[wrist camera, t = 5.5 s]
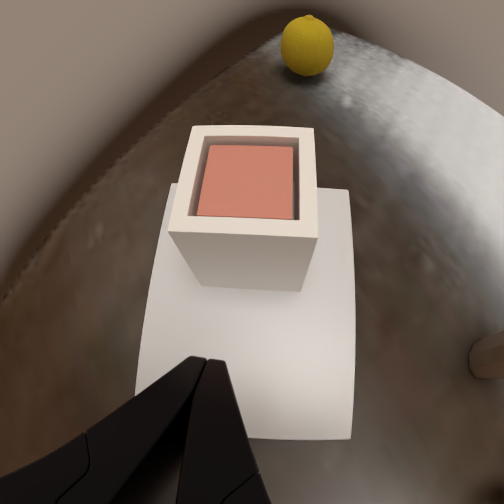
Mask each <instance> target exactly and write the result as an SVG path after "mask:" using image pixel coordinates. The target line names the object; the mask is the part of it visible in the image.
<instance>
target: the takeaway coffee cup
mask: <svg viewBox="0 0 504 504" xmlns="http://www.w3.org/2000/svg"><path fill="white" fill-rule="evenodd" d="M468 356H469V369H470V370H471V372H472V373H473V375H474V376H475V378H480V379H504V328H502V329H500V330H498V331H496V332H494V333H492V334H490V335H488V336H486V337H484V338H482V339H480V340H479V341H477V342H476V343H474V344H473V346H472V348H471V351H470V353H469V355H468Z"/></svg>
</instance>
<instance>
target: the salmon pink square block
mask: <svg viewBox="0 0 504 504" xmlns="http://www.w3.org/2000/svg"><path fill="white" fill-rule="evenodd" d="M292 206H293V147H279V146H247V145H210V149H209V154H208V159H207V164H206V169H205V174H204V179H203V184H202V189H201V194H200V200H199V205H198V211H197V216H206V217H235V218H260V219H281V220H292Z"/></svg>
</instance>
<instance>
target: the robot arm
mask: <svg viewBox="0 0 504 504" xmlns="http://www.w3.org/2000/svg"><path fill="white" fill-rule="evenodd" d="M175 500H176V503H175ZM174 503H175V504H271V502H270V499H269V497H268V494H267V492H266V489H265V486H264V484H263V481H262V478H261V475H260V473H259V469H258V466H257V463H256V460H255V457H254V454H253V451H252V448H251V445H250V442H249V439H248V435H247V432H246V429H245V426H244V423H243V419H242V416H241V413H240V409H239V406H238V403H237V399H236V396H235V392H234V389H233V386H232V382H231V379H230V375H229V372H228V368H227V365H226V362H225V361H224V360H218V359H208V360H207V359H206V358H204V357H198V356H189V357H187V358H186V359H185V360H183V361H182V362H181V363H179V364H178V365H177V366H175V367H174V368H173V369H171V370H170V371H169V372H167V373H166V374H165V375H163V376H162V377H161V378H159V379H158V380H156V381H155V382H154V383H152V384H151V385H150V386H148V387H147V388H146V389H144V390H143V391H141V392H140V393H139V394H137V395H136V396H135V397H133V398H132V399H130V400H129V401H128V402H126V403H125V404H123V405H122V406H121V407H119V408H118V409H116V410H115V411H114V412H112V413H111V414H109V415H108V416H106V417H105V418H104V419H102V420H101V421H99V422H98V423H96V424H95V425H94V426H92V427H91V428H89V429H88V430H86V433H82V434H80V435H79V436H77V437H76V438H74V439H73V440H71V441H70V442H68V443H67V444H65V445H63V446H62V447H60V448H59V449H57V450H55V451H54V452H52V453H50V454H48V455H46V456H44V457H43V458H41V459H39V460H37V461H35V462H33V463H31V464H29V465H27V466H24V467H22V468H20V469H18V470H16V471H14V472H11V473H9V474H7V475H5V476H2V477H0V504H174Z"/></svg>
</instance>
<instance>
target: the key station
mask: <svg viewBox="0 0 504 504" xmlns="http://www.w3.org/2000/svg"><path fill="white" fill-rule="evenodd" d="M210 145H247V146H279V147H293V206H292V220H281V219H260V218H235V217H206V216H197V211H198V205H199V200H200V194H201V189H202V184H203V179H204V174H205V169H206V164H207V159H208V154H209V149H210ZM189 356H198V357H204V358H206V359H207V360H208V359H218V360H224V361H225V362H226V365H227V368H228V372H229V375H230V379H231V382H232V386H233V389H234V392H235V396H236V399H237V403H238V406H239V409H240V413H241V416H242V419H243V423H244V426H245V429H246V432H247V435H248V438H262V439H282V440H338V439H351V427H352V414H353V397H354V375H355V282H354V258H353V241H352V227H351V214H350V203H349V192H348V190H341V189H327V188H317V182H316V161H315V144H314V129H313V128H301V127H281V126H245V125H220V126H193V127H192V131H191V135H190V138H189V142H188V146H187V150H186V153H185V157H184V161H183V165H182V169H181V173H180V177H179V181H178V183H173V184H171V188H170V192H169V196H168V200H167V205H166V209H165V213H164V218H163V222H162V227H161V231H160V236H159V241H158V246H157V250H156V255H155V261H154V266H153V271H152V276H151V282H150V288H149V293H148V299H147V305H146V312H145V318H144V325H143V331H142V339H141V346H140V354H139V362H138V370H137V379H136V389H135V396H136V395H137V394H139V393H140V392H141V391H143V390H144V389H146V388H147V387H148V386H150V385H151V384H152V383H154V382H155V381H156V380H158V379H159V378H161V377H162V376H163V375H165V374H166V373H167V372H169V371H170V370H171V369H173V368H174V367H175V366H177V365H178V364H179V363H181V362H182V361H183V360H185V359H186V358H187V357H189Z"/></svg>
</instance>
